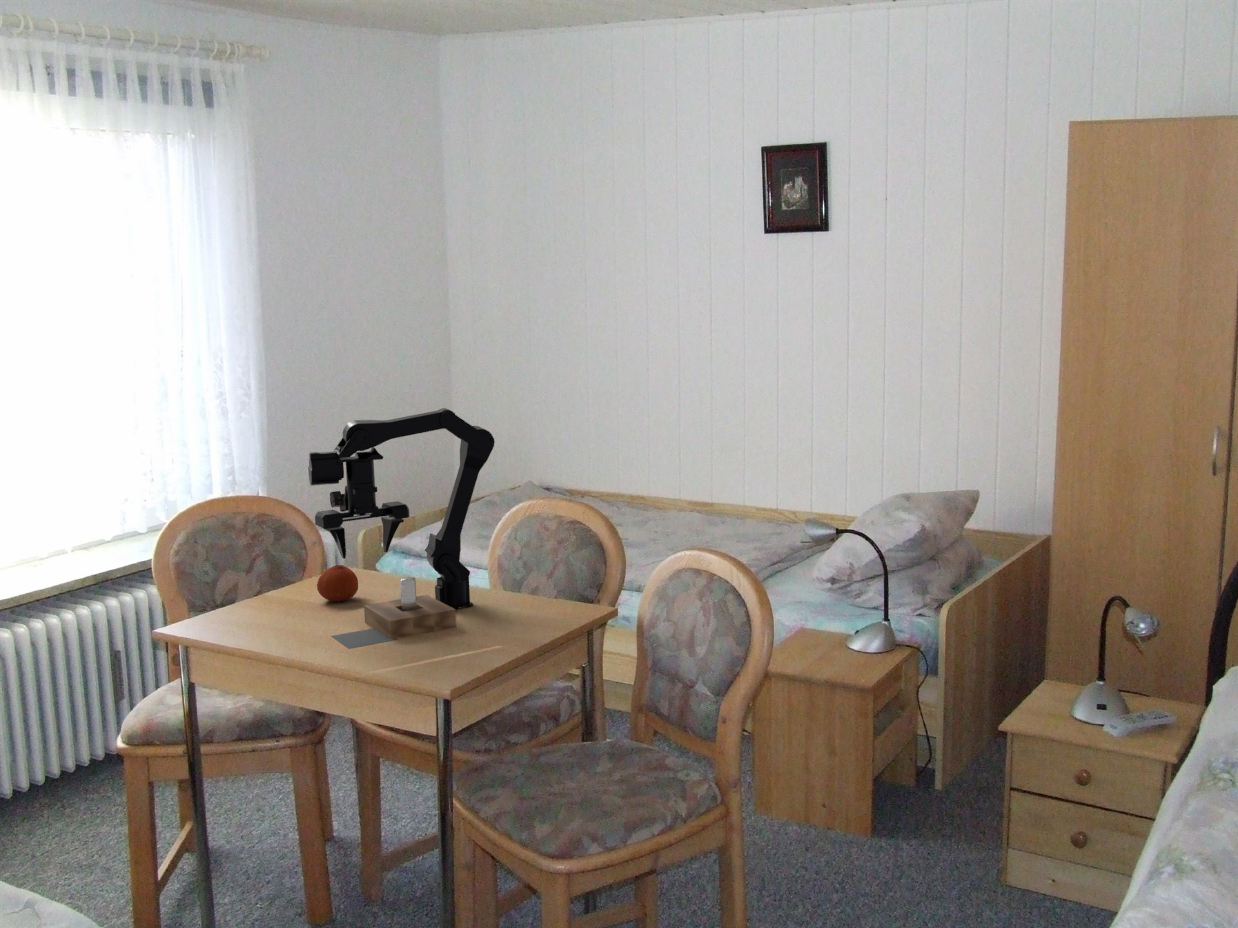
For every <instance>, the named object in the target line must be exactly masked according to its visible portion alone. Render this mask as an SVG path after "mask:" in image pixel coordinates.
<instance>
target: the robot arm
mask: <svg viewBox="0 0 1238 928" xmlns="http://www.w3.org/2000/svg"><path fill="white" fill-rule="evenodd" d="M444 429H445V430H446V431H448V432H449V433H451V434H453V435H454V437H456V438H458V439H460V445H459V467H458V469H457V474H456V477H455V480H454V484H453V487H452V491H451V494H450V497H449V501H448V505H447V508H446V511H445V514H444V518H443V521H442V525H441V527H440V529H439V531H438V532H437V533H436V534H434V533H431V532H430V533H429V538H428V542H427V545H426V548H425V549H424V552H425V553H426V561H427V563H428V565H430V566H431V568H432V569H433V570H434V571H436V573H437V575H439V577H436V585H435V586H434V595H435V597H434V599H436V600H438V601H440V602H442V603H444V604H446V605H448V606H450V607H452V608H454V609H455V610H457V609H462V608H463V609H464V608H467V607H473V606H474V602H472V601H471V593H470V591H471V590H470V574H471V571H470V570H469V569H468V567H466V565H464V564H463V563H462V562H461V561H460V558H461V551H462V550H461V548H462V547H461V543H462V541H461V539H462V537H461V536H462V530H463V529H464V528H463V527H464V524H465V520H466V517H467V514H468V510H469V507H470V504H471V500H472V497H473V493H474V491H475V486H476V484H477V480H478V476H479V473H480V471H481V470H482V468H483V467H484V466H485V464H486V463H487V461H488V459H489V458H490V455H491V453H492V451H493V449H494V447H495V438H494V436H493V434H492V433H491V432H490V431H489V430H488V429H485V428H483V427H481V426H478V425H472V424H470V423H468V422H467V421H466V420H464V419H463V418H461V417H460V416H458V415H457V414H456V413H455V412H454V411H453V410H450V409H449V408H445V407H442V408H439V409H437V410H434V411H429V412H428V411H427V412H422V413H418V414H413V415H407V416H402V417H398V418H397V417H396V418H392V419H391V418H390V419H387V420H386V419H385V420H380V419H379V420H378V419H375V420H374V419H359V420H357V419H355V420H351V421H349V422H347V423H346V424H345V425H344V427H343V430H342V437H341V439H340V441H338V444H337V445H336V446H335V448H334V449H333V451H324V452H323V451H321V452H318V451H310V452H309V453H308V455H309V458H308V467H307V468H308V469H307V470H308V480H309V486H310V487H312V486H325V485H335V484H339V483H340V481H342V479H344V478H345V473H346V485H345V486H344V493H341V491H340V490H337V491H336V490H335V491H331V492H329V502H330V507H331V508H339V511H340V512H339V511H337V510H336V509H326V510H319V511H318V510H317V512H316V514H315V515H314V524H315V526H317V527H320V528H321V529H323V530H325V531H327V532H329V534H330V535H331V536H332V538H333V540H334V542H335V544H336V547H337V549H338V552H339V554H340V556H341V559H343V560H344V559H347V556H346V555H347V548H346V531H345V527H342V525H343V523H345V522H352V521H359V520H366V519H374V518H375V519H376V518H380V519H381V523H382V548H383V552H384V553H388V551H389V548H390V546H391V543H392V541H393V539H394V536H395V533H396V532H397V531H398V528H399V526H400V524H401V523H404V521H405V520H404V519H409V518H410V508H409V506H408V505H407V504H406V503H403V502H400V501H397V500H396V501H389V502H382V505H381V507H379V506H378V505H377V499H376V497H377V496H376V493H378V486H376V480H375V479H376V478H375V463H374V461H376V460H377V461H380V460H383V459H384V456H383V455H382V454H381V453H379V452H378V450H377V449H376V447H377V446H380V445H381V444H383V443H386V442H387V441H390V440H394V439H398V438H403V437H407V436H412V435H417V434H418V435H419V434H423V433H428V432H429V433H430V432H434V431H437V430H438V431H439V430H444ZM366 450H368V451H366ZM353 455H354V456H353ZM344 463H345V465H344ZM344 466H345V467H344ZM344 468H345V470H344ZM346 511H347V512H346Z"/></svg>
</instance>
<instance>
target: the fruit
mask: <svg viewBox="0 0 1238 928" xmlns="http://www.w3.org/2000/svg"><path fill="white" fill-rule="evenodd" d="M316 582H317V583H316V589H317V590H316V591H318V594H319V595H320V596H321V597H322V598H324V600H326V601H330V602H334V603H335V602H336V603H337V602H345V601H349V600H350V599H351V598H353V597H355V595H356V594H357V592H358V590H359V580H358V577H357V575H356V573H355V572H354V571H353V570H352V569H350V568H349V567H347V566H346V565H344V564H336V565H334V566H332V567H329V568H327V569H326V570H325V571H323V573H322V574H321V575H320V576H319V577H318V580H317V581H316Z"/></svg>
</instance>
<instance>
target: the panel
mask: <svg viewBox="0 0 1238 928" xmlns="http://www.w3.org/2000/svg"><path fill="white" fill-rule="evenodd" d="M331 638H332V639H334V640H336V641H337V642H338V643H340V644H341V645H342V646H344V647H346V648H347V649H348V650H350V649H355V648H360V647H365V646H372V645H377V644H381V643H387V642H393V641H397V640H399V638H394V639H390V638H389V637H387V636H386V635H384V634H382V633H381V632H379V631H378V630H376V629H374V628H372V627H371V628H369V629H361V630H357V631H351V632H346V633H340V634H335V635H331Z"/></svg>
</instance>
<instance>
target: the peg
mask: <svg viewBox="0 0 1238 928" xmlns="http://www.w3.org/2000/svg"><path fill="white" fill-rule="evenodd" d="M416 596H417V586H416V578H415V577H413V576H405V577H401V578H400V597H401V598H400V599H401V603H402V611H403V612H405V611H410V610H416V609H417V603H416Z"/></svg>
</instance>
